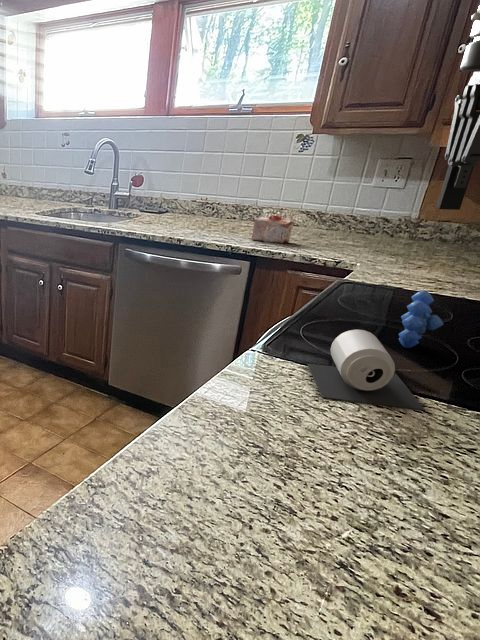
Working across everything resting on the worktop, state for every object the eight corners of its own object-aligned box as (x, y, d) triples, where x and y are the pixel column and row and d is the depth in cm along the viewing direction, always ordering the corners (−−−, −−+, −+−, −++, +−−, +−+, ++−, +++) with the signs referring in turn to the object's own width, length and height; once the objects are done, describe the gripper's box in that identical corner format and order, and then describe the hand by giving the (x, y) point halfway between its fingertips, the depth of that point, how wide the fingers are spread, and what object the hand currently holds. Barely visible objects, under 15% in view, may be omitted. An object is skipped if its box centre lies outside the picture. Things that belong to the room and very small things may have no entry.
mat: (395, 375, 93) (395, 373, 93) (424, 412, 81) (425, 409, 81) (306, 365, 98) (307, 363, 97) (322, 399, 85) (322, 397, 85)
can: (356, 373, 96) (372, 403, 86) (319, 351, 97) (331, 378, 87) (389, 342, 92) (410, 369, 82) (350, 320, 93) (366, 343, 83)
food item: (293, 242, 201) (298, 215, 197) (284, 245, 196) (289, 218, 192) (257, 237, 210) (262, 212, 206) (248, 240, 206) (252, 214, 202)
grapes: (428, 362, 98) (450, 300, 93) (385, 352, 102) (404, 293, 98) (438, 345, 106) (458, 287, 101) (397, 336, 110) (415, 281, 105)
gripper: (451, 46, 81) (406, 203, 91) (491, 33, 70) (435, 213, 80) (511, 42, 79) (458, 204, 89) (562, 29, 68) (496, 215, 77)
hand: (447, 208), depth 84 cm, fingers closed
